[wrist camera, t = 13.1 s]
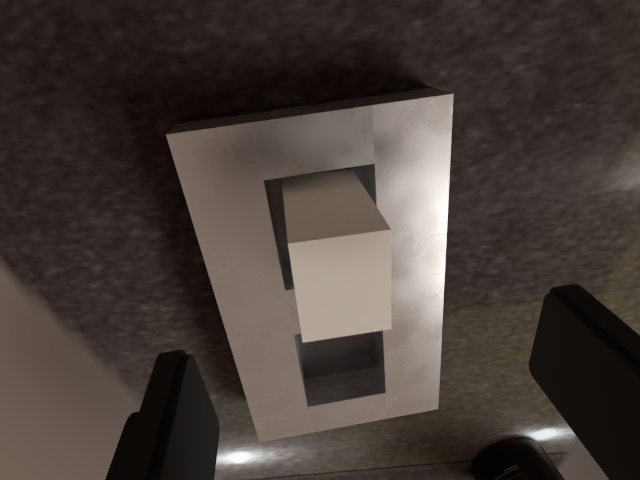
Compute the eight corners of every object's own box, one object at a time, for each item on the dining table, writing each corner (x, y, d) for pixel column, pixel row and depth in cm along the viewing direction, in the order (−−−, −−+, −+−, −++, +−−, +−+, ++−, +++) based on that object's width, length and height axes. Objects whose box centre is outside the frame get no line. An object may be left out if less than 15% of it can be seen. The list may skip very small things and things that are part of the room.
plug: (281, 177, 19) (287, 243, 13) (352, 168, 19) (391, 229, 13) (292, 254, 21) (302, 342, 15) (356, 245, 22) (391, 329, 15)
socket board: (180, 120, 18) (166, 134, 15) (427, 85, 19) (453, 93, 16) (260, 403, 28) (259, 442, 25) (422, 374, 28) (438, 409, 26)
